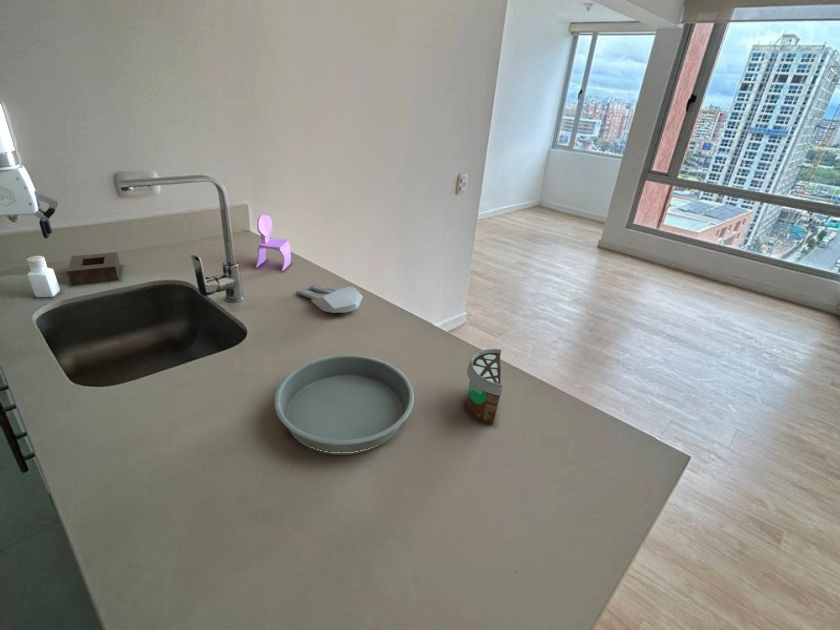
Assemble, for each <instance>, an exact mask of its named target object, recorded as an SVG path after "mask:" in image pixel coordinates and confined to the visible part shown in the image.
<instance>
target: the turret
mask: <svg viewBox="0 0 840 630" xmlns="http://www.w3.org/2000/svg"><path fill="white" fill-rule="evenodd" d="M309 289H311V290H309ZM309 289H305V288H301V289H298V290H296V293H297V294H298V295H300V296H303V297H306V298H309V299H311V303H313V304H314V305H315V306H316V307H318V309H320V310H321V311H322V312H326V313H331V314H336V313H339V314H346V313H349V312H353V311H356V310H357V309H358V308H359V307H360V304H361V302H362V300H363V295H362V294H361V293H360V292H359V290H358V289H357V288H356V287H354V286H346V287H342V288H340V289H335V288H330V287H328V286H322V285H320V284H316V283H315V284H313V285H310V286H309Z"/></svg>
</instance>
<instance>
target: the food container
mask: <svg viewBox="0 0 840 630" xmlns="http://www.w3.org/2000/svg"><path fill="white" fill-rule="evenodd" d="M501 354H502V349H501V348H488V349H484V350H480V351H478V352H477V353H475V354H474V355H473V357H472V358H471V359H470V361H469V363H468V366H467V368H466V373H467V376H468V379H469V384H468V395H467V408H468V409H467V410H469V412H470V413H471V414H472V416H473V417H475V418H476V419H477V420H479V421H481V422H483V423H486V424H490V425H494V421H495V417H496V414H497V410H498V405H499V402H500V398H501V396H502V390H503V384H502V382H501V377H502V375H501V372H502V371H501Z"/></svg>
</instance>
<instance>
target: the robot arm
mask: <svg viewBox="0 0 840 630" xmlns="http://www.w3.org/2000/svg"><path fill="white" fill-rule="evenodd" d="M40 202H43V203H46V204H48V205H49V206H48V208H47V209H46V210H44V209H43V208H41V203H40ZM59 202H60V201H59V199H57V198H54V197H51V196H48V195H46V194H44V193H40V192H38V191H36V188H35V186H34V183H33V182H32V179H31V176H30V174H29V173H28V171H27V169H26V167H25V166H24V164H20V162H19V158H18V154H17V152H16V148H15V146H14V142H13V139H12V135H11V132H10V130H9V126H8V123H7V119H6V116H5V112H4V109H3V106H2V104H1V103H0V217H4V216H9V217H10V216H31V215H33V216H35V217H36V218H38V219H39V222H38V223H39V227H40V230H41V233H42V237H43V239H49V237H50V235H51V234H52V233H53V230H52V226H51V223H50V220H49V219H50V218H51V217H52V216H53V215H54V214H55V212H56V211H57V208H58V205H59Z"/></svg>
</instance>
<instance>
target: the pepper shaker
mask: <svg viewBox="0 0 840 630" xmlns="http://www.w3.org/2000/svg"><path fill="white" fill-rule="evenodd" d="M26 262H27V264H28V268H30V271H29V272H28V273H27V278H28V280H29V284H30V286H31V289H32V291H33V295H34V297H36V298H53V297H55V296H56V295H57V294H58V293H59V292H60V291H61V289H60V285H59V282H58V280H57V277H56V274H55V270H54V269H53V268H51V267H48V266H47V261H46V259H45V257H44V256H43V255H33V256H30V257H27V259H26Z"/></svg>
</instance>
